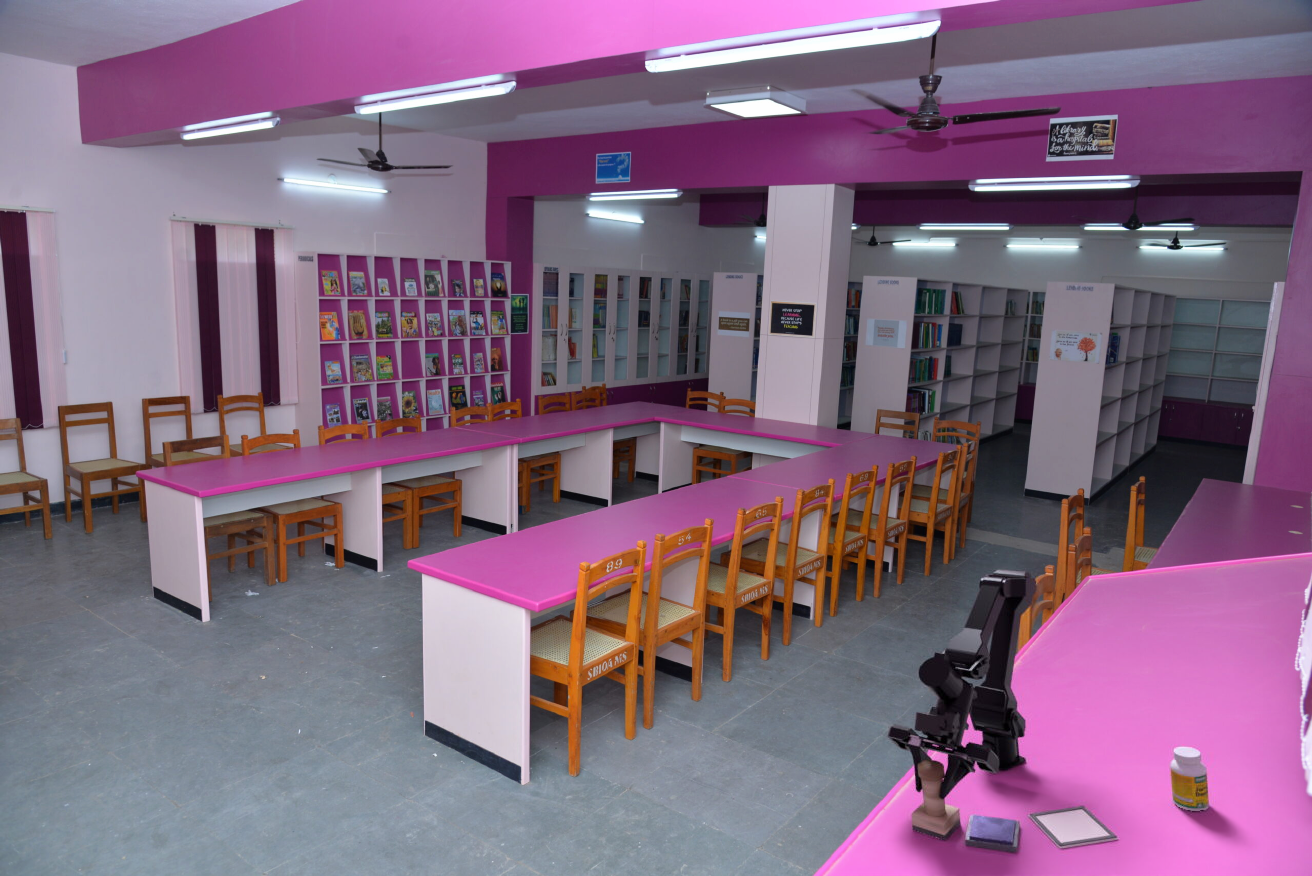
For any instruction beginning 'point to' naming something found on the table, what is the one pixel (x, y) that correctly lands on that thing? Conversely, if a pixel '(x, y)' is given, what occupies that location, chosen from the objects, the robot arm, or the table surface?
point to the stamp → (934, 804)
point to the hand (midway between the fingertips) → (929, 795)
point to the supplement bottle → (1189, 780)
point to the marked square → (1072, 827)
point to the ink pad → (993, 833)
